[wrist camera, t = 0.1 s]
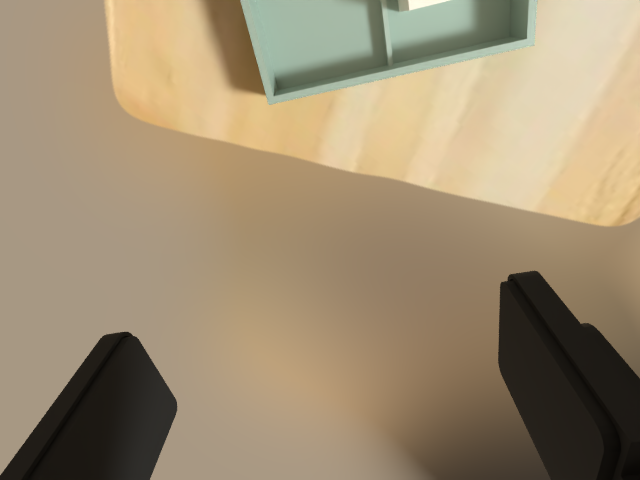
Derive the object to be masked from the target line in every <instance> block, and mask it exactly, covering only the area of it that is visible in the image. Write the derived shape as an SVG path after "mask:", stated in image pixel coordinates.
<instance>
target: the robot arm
mask: <svg viewBox="0 0 640 480" xmlns="http://www.w3.org/2000/svg"><path fill="white" fill-rule="evenodd" d="M498 355H499V356H498V361H499V362H498V363H499V368H500V372H501V375H502V377H503V379H504V381H505V383H506V385H507V387H508V390H509V391H510V394H511V396H512V398H513V400H514V402H515V404H516V407H517V409H518V411H519V413H520V415H521V417H522V419H523V421H524V424H525V426H526V428H527V430H528V432H529V434H530V436H531V438H532V440H533V443H534V445H535V447H536V449H537V451H538V453H539V455H540V457H541V459H542V462H543V464H544V466H545V468H546V470H547V472H548V474H549V476H550V478H551V480H640V378H639V377H638V376H637V375H636V374H635V373H634V371H633V370H632V369H631V368H630V367H629V365H628V364H627V363H626V362H625V361H624V360H623V358H622V357H621V356H620V355H619V354H618V353H617V351H616V350H615V349H614V348H613V347H612V346H611V344H610V343H609V342H608V341H607V340H606V339H605V338H604V336H603V335H602V334H601V333H600V332H599V331H598V330H597V329H596V328H595V327H594V326H593V325H591V324H589V323H583V324H580V322H579V321H578V320H577V319H576V317H575V316H574V315H573V314H572V313H571V311H570V310H569V309H568V308H567V306H566V305H565V304H564V303H563V301H562V300H561V299H560V298H559V297H558V295H557V294H556V293H555V292H554V290H553V289H552V288H551V287H550V286H549V284H548V283H547V282H546V281H545V279H544V278H543V277H542V276H541V275H540V273H538V272H537V271H530V272H523V273H516V274H511V275H509V277H508V281H505V282H501V285H500V315H499V352H498ZM176 412H177V402H176V399H175V397H174V396H173V394H172V392H171V391H170V389H169V388H168V386H167V384H166V383H165V381H164V379H163V378H162V376H161V375H160V373H159V371H158V370H157V368H156V367H155V365H154V363H153V362H152V361H151V359H150V357H149V355H148V354H147V352H146V351H145V349H144V347H143V346H142V344H141V342H140V341H139V339H138V338H137V337H135V336H133V335H132V334H131V333H129V332H120V333H114V334H107V335H104V336H103V337H102V338H101V339H100V340H99V341H98V343H97V344H96V346H95V347H94V348H93V350H92V351H91V352H90V354H89V355H88V356H87V358H86V359H85V361H84V362H83V363H82V365H81V366H80V367H79V369H78V370H77V372H76V373H75V374H74V376H73V377H72V378H71V380H70V381H69V382H68V384H67V385H66V387H65V388H64V389H63V391H62V392H61V393H60V395H59V396H58V398H57V399H56V400H55V402H54V403H53V404H52V406H51V407H50V408H49V410H48V411H47V412H46V414H45V415H44V417H43V418H42V419H41V421H40V422H39V424H38V425H37V426H36V428H35V429H34V430H33V432H32V433H31V434H30V436H29V437H28V439H27V440H26V441H25V443H24V444H23V445H22V447H21V448H20V449H19V451H18V452H17V454H16V455H15V456H14V458H13V459H12V460H11V462H10V463H9V464H8V466H7V467H6V469H5V470H4V471H3V473H2V474H1V475H0V480H150V477H151V475H152V473H153V470H154V467H155V465H156V463H157V460H158V458H159V455H160V452H161V450H162V447H163V445H164V442H165V440H166V438H167V435H168V433H169V430H170V428H171V425H172V422H173V420H174V418H175V415H176Z"/></svg>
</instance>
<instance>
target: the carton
mask: <svg viewBox="0 0 640 480" xmlns="http://www.w3.org/2000/svg"><path fill="white" fill-rule="evenodd" d="M446 1H450V0H398V6H399V12H401V11H409V10H413V9H417V8H422V7H426V6H430V5H434V4H438V3H442V2H446Z"/></svg>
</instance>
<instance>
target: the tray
mask: <svg viewBox="0 0 640 480" xmlns="http://www.w3.org/2000/svg"><path fill="white" fill-rule="evenodd" d="M240 1H241V5H242V9H243V12H244V16H245V20H246V23H247V27H248V31H249V34H250V38H251V42H252V45H253V49H254V53H255V56H256V60H257V64H258V67H259V71H260V75H261V78H262V82H263V86H264V89H265V93H266V97H267V101H268V104H269V105H271V104H275V103H280V102H284V101H289V100H293V99H298V98H302V97H307V96H311V95H316V94H320V93H324V92H329V91H333V90H338V89H342V88H347V87H351V86H356V85H360V84H365V83H369V82H374V81H378V80H382V79H387V78H391V77H396V76H400V75H405V74H409V73H414V72H418V71H423V70H427V69H431V68H436V67H440V66H445V65H449V64H454V63H458V62H463V61H467V60H472V59H476V58H481V57H485V56H489V55H494V54H498V53H503V52H507V51H512V50H516V49H521V48H525V47H530V46H534V44H535V28H536V11H537V0H450V1H446V2H442V3H438V4H434V5H430V6H426V7H422V8H417V9H413V10H409V11H401V12H399V6H398V0H240Z"/></svg>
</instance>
